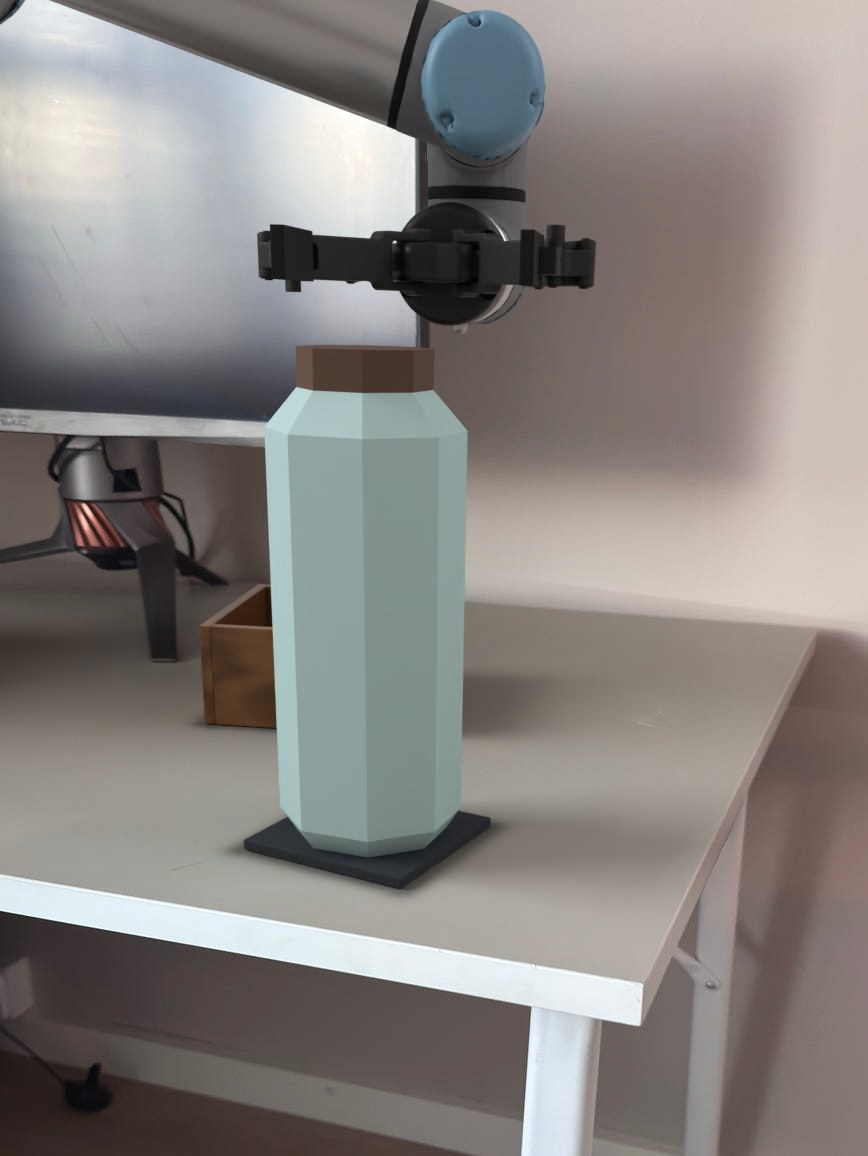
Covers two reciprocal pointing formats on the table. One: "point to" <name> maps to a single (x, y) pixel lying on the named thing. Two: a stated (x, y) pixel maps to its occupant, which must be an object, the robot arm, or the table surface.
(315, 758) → the water bottle
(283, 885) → the table surface
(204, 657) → the wooden box
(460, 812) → the mat
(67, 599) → the table surface
